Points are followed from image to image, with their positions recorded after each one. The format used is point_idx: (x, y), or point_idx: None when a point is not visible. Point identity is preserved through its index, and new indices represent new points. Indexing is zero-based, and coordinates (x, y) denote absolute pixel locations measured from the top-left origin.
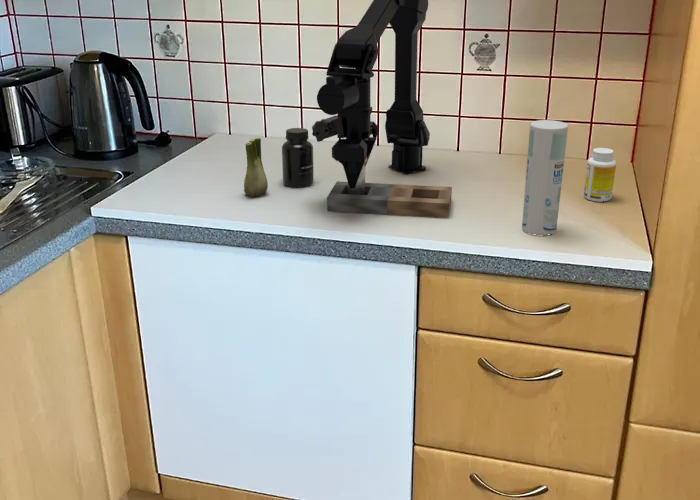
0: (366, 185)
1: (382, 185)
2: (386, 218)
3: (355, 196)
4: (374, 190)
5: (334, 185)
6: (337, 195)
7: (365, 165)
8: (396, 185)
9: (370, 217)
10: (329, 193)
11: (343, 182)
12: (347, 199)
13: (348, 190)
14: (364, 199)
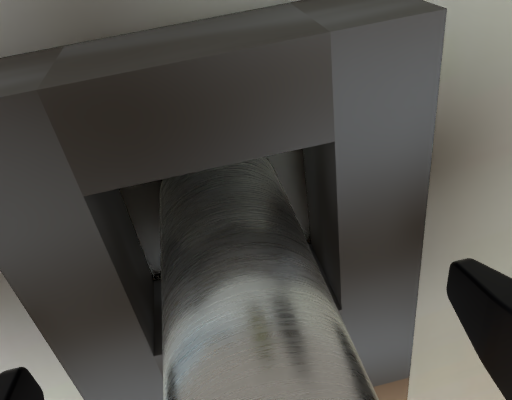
0: (362, 276)
1: (377, 346)
2: (74, 388)
3: (86, 312)
4: None
5: (310, 37)
6: (21, 190)
7: (497, 383)
8: (387, 394)
9: (41, 335)
10: (32, 92)
11: (415, 90)
12: (11, 276)
13: (179, 232)
14: (68, 370)
